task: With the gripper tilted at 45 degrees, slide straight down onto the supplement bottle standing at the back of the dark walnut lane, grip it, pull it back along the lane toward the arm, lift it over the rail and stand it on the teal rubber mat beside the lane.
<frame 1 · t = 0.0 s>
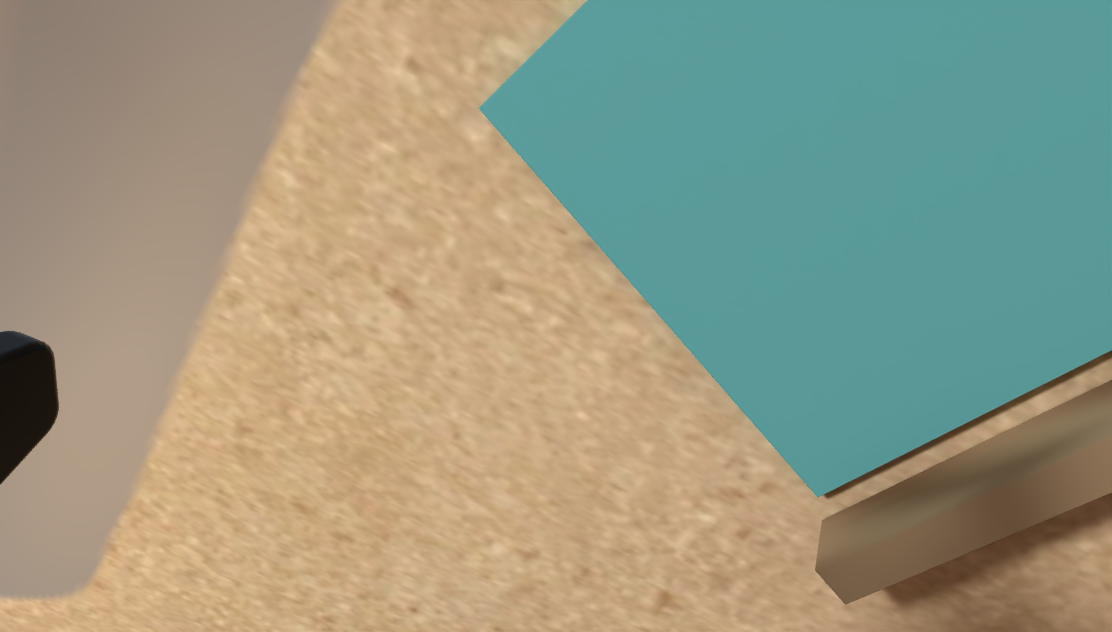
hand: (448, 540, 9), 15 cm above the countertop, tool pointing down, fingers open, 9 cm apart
teal mat: (879, 147, 20), on the countertop
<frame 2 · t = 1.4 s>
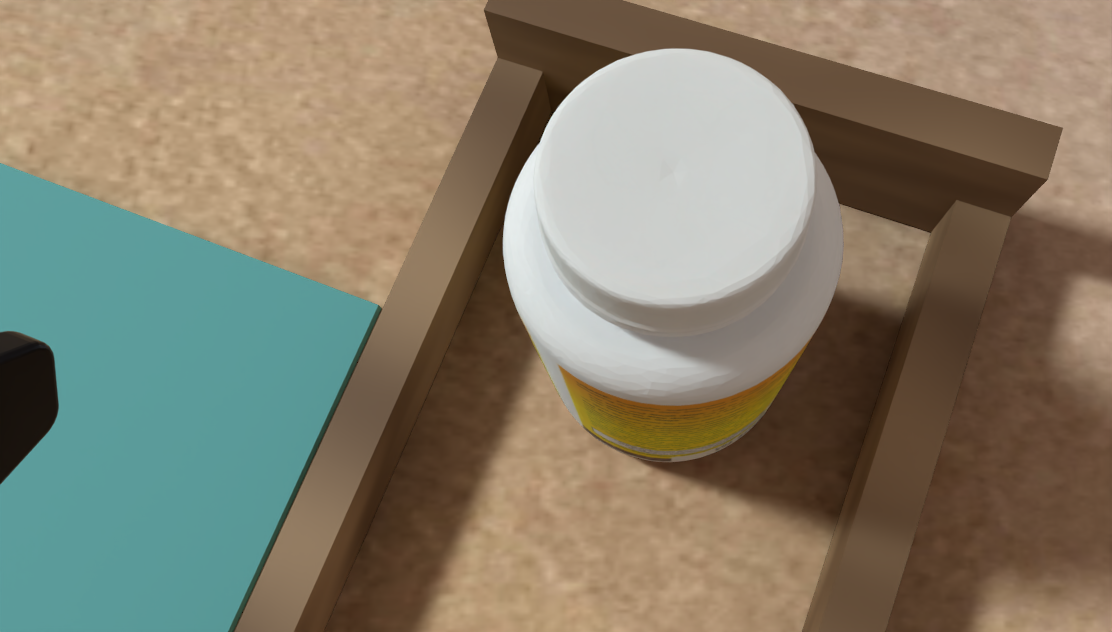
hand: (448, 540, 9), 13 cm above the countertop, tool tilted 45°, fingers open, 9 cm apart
supplement bottle: (664, 351, 23), resting in walnut lane
teal mat: (43, 455, 24), on the countertop
walnut lane: (573, 589, 21), on the countertop
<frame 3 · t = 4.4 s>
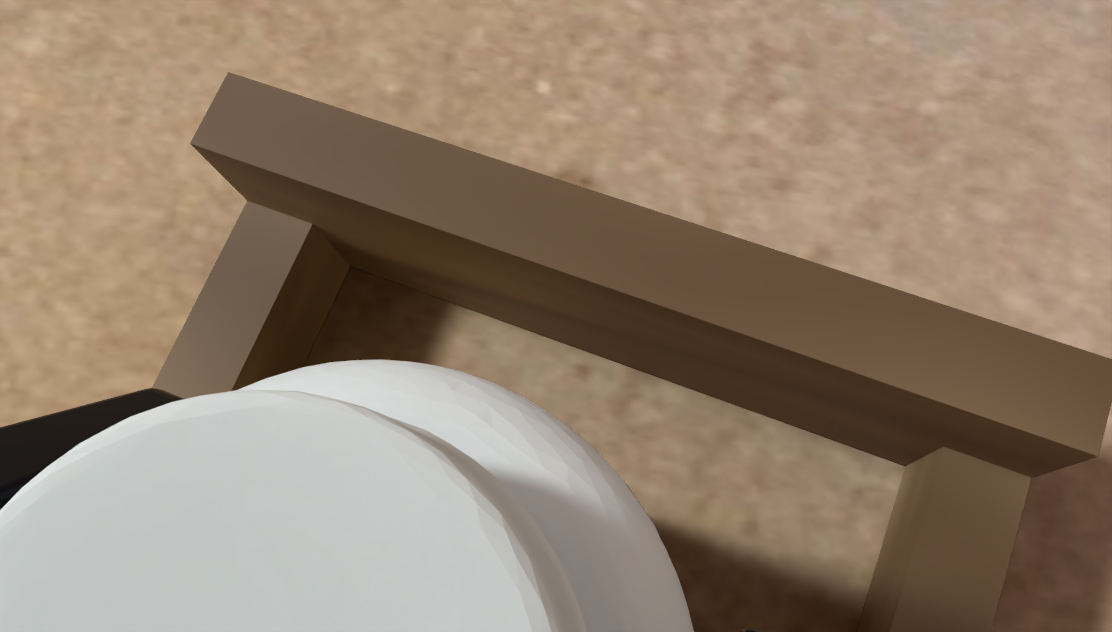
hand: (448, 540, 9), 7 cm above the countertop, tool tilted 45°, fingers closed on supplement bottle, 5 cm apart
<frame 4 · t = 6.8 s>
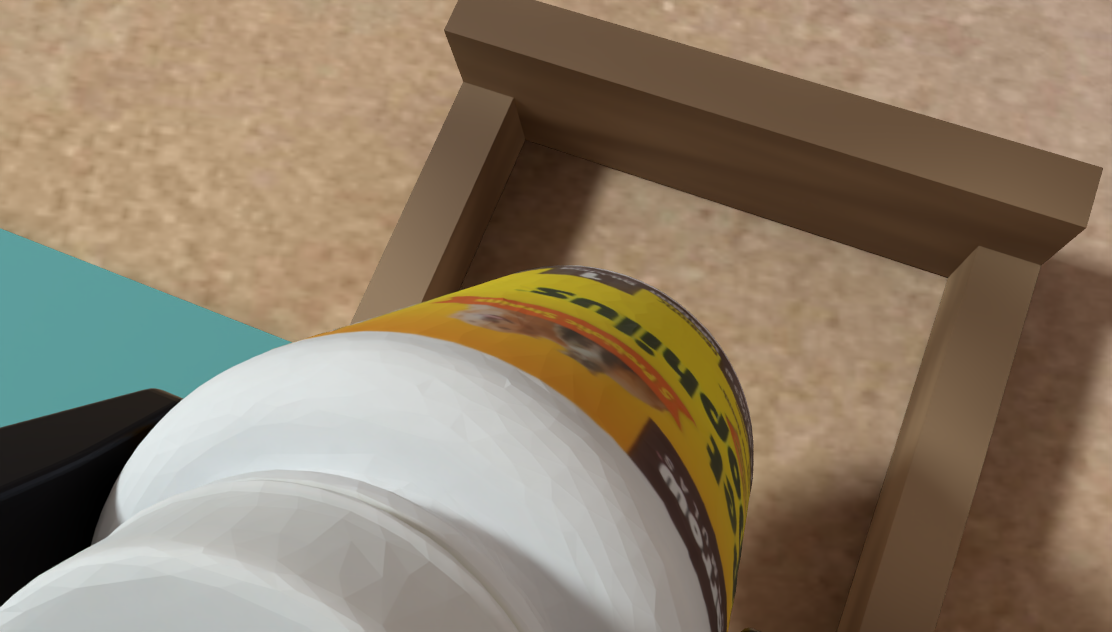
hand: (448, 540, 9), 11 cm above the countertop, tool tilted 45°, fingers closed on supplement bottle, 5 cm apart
supplement bottle: (583, 426, 15), point 5 cm above the countertop, touching gripper
when the fingers open (8 cm above the countertop, at t = 10.1 s): supplement bottle stays where it is, resting on teal mat.
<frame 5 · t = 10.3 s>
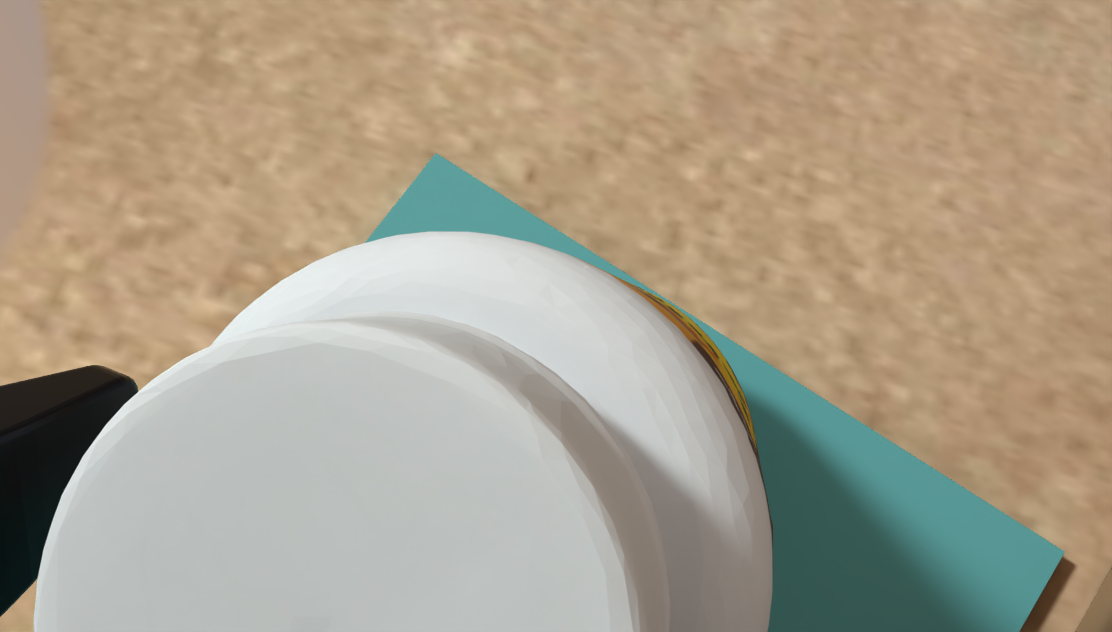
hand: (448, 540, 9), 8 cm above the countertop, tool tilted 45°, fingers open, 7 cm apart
supplement bottle: (585, 442, 16), point 1 cm above the countertop, touching teal mat
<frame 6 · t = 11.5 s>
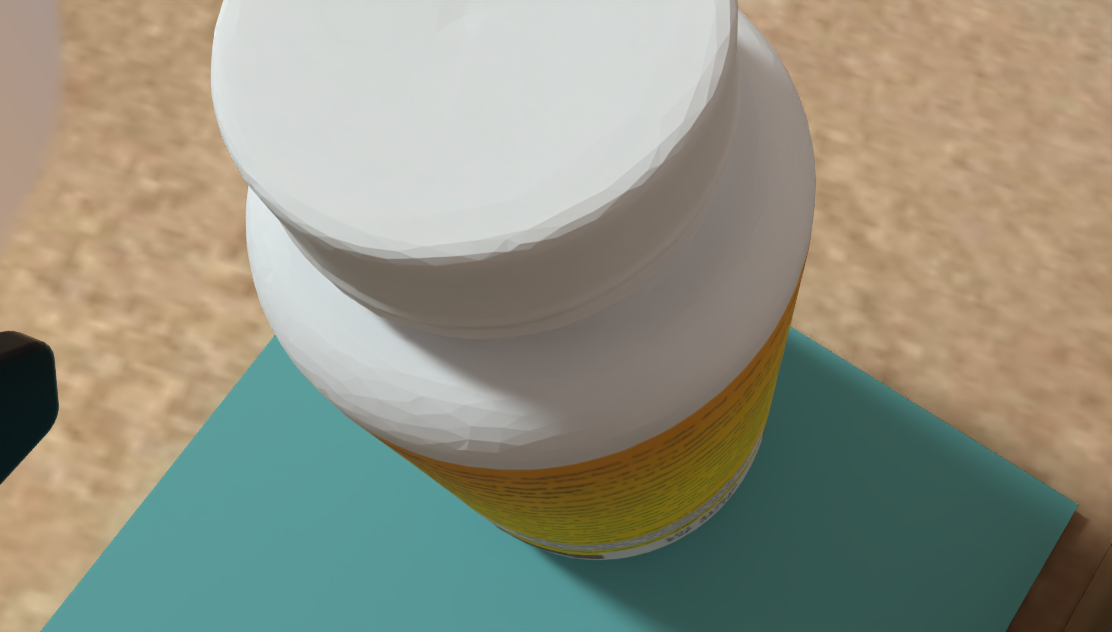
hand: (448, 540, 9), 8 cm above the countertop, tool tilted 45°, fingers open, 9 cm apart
supplement bottle: (602, 401, 16), resting on teal mat
teal mat: (523, 602, 16), on the countertop
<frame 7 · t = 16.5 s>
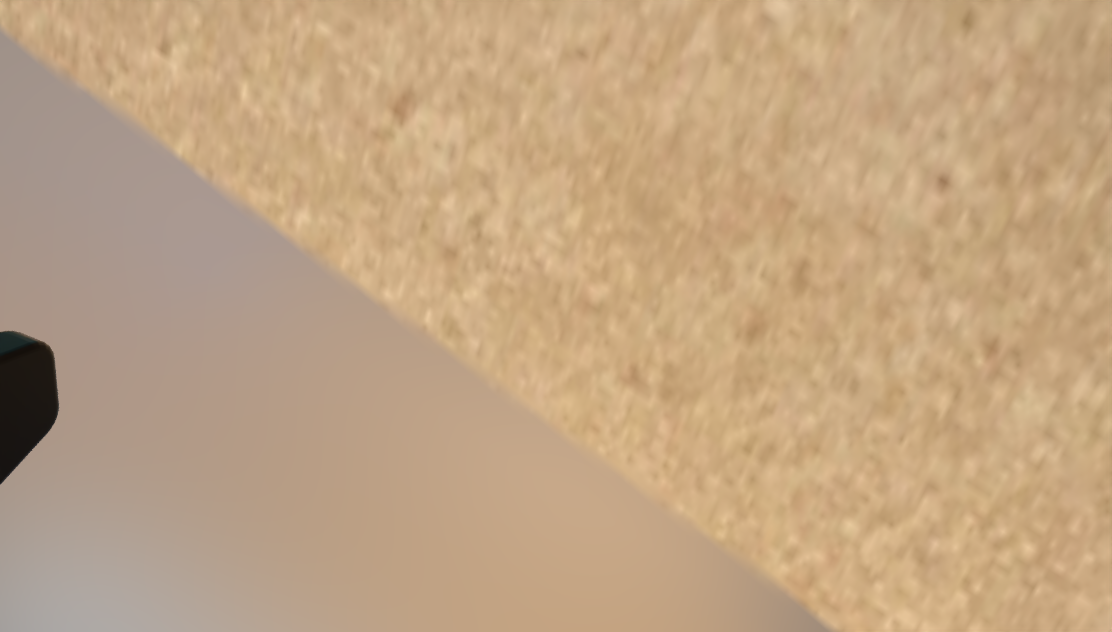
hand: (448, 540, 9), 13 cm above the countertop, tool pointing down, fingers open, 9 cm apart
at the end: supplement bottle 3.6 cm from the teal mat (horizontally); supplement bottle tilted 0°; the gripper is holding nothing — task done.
